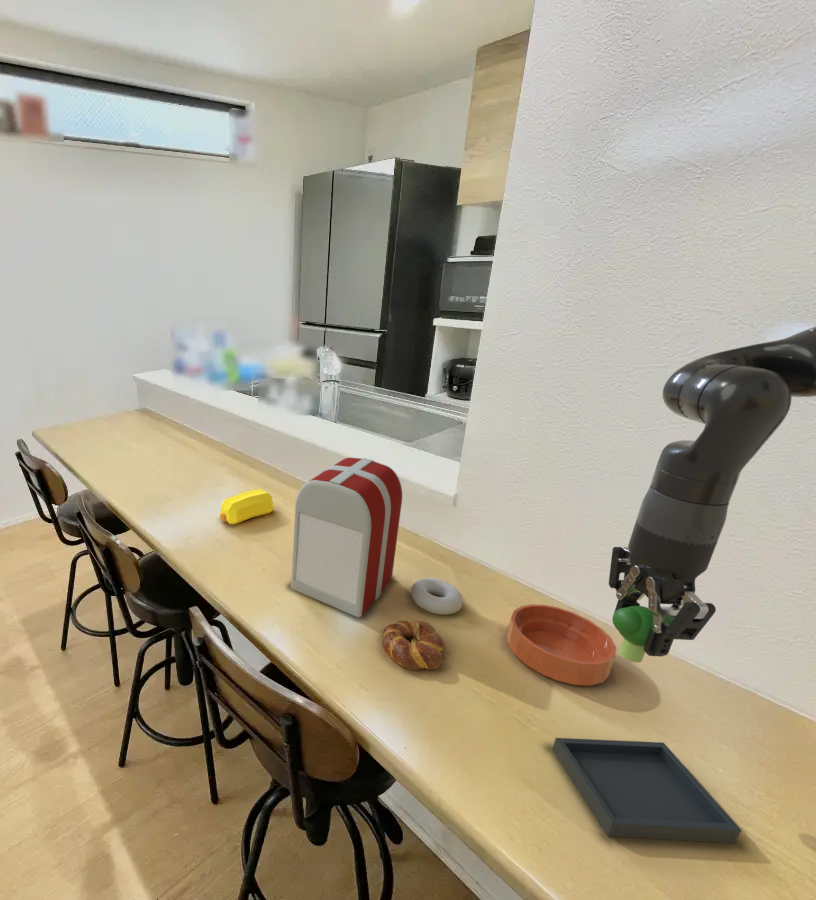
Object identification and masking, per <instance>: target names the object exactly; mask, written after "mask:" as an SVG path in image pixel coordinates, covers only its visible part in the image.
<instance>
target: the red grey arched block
mask: <svg viewBox="0 0 816 900" xmlns="http://www.w3.org/2000/svg"><path fill="white" fill-rule="evenodd" d="M402 503H403V488H402V483H401V480H400V477H399V476H398V475H397V473H396V471H395V470H394V469H393V468H392V467H390V466H388V465H386V464H384V463H381V462H378V461H375V460H373V459H372V458H371V459H370V458H366V457H363V458H361V457H352V456H351V457H346V458H343V459H341V460H340V461H338V462H337V463H335V464H334V465H331V466H328V467H327V468H325V469H323V470H322V471H321V472H320V473H318V475H316V476H315V477H313V478H312V479H309V480H308V481H306V482H305V483H304V484H303V485H302V486H301V488H300V489H299V491H298V493H297V496H296V499H295V506H294V521H293V522H294V523H293V524H294V525H293V541H292V544H293V545H292V562H291V580H290V581H291V585H290V589H292V590H293V591H296V592H298V593H300V594H303V595H305V596H307V597H310V598H312V599H314V600H317V601H319V602H322V603H324V604H326V605H328V606H331V607H333V608H335V609H337V610H340V611H342V612H345V613H346V614H349V615H351V616H354V617H356V618H361V617H363V615H364V614H365V613H366V612H367V611H368V609H370V607H371V606H372V605H373V603H375V601H377V600H378V598H379V597H380V596H381V594H382V592H383V591H385V589H386V587H387V586H388V585H389V584H390V582H391V581H392V580H393V572H394V567H395V558H396V550H397V542H398V535H399V528H400V527H399V526H400V520H401V512H402V506H403V505H402Z"/></svg>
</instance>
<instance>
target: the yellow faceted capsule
mask: <svg viewBox="0 0 816 900" xmlns="http://www.w3.org/2000/svg"><path fill="white" fill-rule="evenodd" d="M273 511H274V501H273V496H272V495H271V494H270V493H269V492H267V491H265V490H263V489H262V488H258V489H253V490H247V491H243V492H239V493H238V494H235V495H233V496H230V497H227V498H225V499H224V500H223V501H222V503H221V507H220V512H219V519H220V521H221V523H222V522H224V523H228V524H229V525H233V526H234V525H237V524H240V523H242V522H244V521H247V520H249V519H251V518H255V517H259V516H264V515H268V514H270V513H272V512H273Z"/></svg>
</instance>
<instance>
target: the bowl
mask: <svg viewBox="0 0 816 900" xmlns="http://www.w3.org/2000/svg"><path fill="white" fill-rule="evenodd" d="M512 611H513V612H512V613H511V616H510V620H509V624H508V628H507V633H506V641H507V644H508V647H509V648H510V650H511V651H512V653H513V654H514V656H516V658H518V659H519V660H520V661H522V663H523V664H524V665H526V666H527V667H529V668H530V669H532V670H534V671H535V672H537V673H539V674H541V675H543V676H546V677H547V678H550V679H552V680H555V681H557V682H561V683H565V684H570V685H573V686H589V687H590V686H595V685H598V684H602V683H603V682H605V681H606V679H608V678H609V676H610V674H611V671H612V668H613V665H614V662H615V660H616V654H617V646H616V645H615V644H616V643H614V640H613V639H612V637H611V636H610V635H609V634H608V633H607V632H606V631H605V630H604V629H603V628H602V627H600V626H599V625H597V624H596V623H594V622H593V621H592V620H590V619H588V618H586V617H584V616H582V615H579V614H578V613H576V612H574V611H570V610H567V609H564V608H561V607H558V606H553V605H547V604H537V603H535V604H534V603H532V604H526V605H521V606H519V607H517V608H516V609H514V610H512Z"/></svg>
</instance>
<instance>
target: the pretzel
mask: <svg viewBox="0 0 816 900" xmlns="http://www.w3.org/2000/svg"><path fill="white" fill-rule="evenodd" d="M381 638H382V641H381V647H382V649H383V650H384V652H385V654H387V656H388V657H389V658H390V659H392V660H393V661H394V662H395V663H396V664H397V665H399V666H401V667H403V668H406V669H408V670H415V671H416V670H420V669H421V670H422V669H426V670H428V671H429V670H430V671H431V670H432V671H433V670H436V669H438V668H440V667H441V666H442V664H443V654H442V653H441V651H444V650H445V641H444V638H443V636H441V635H440V634H439V633H438V632H437V631H436V629H435V628H434V626H432V624H431V623H429V622H427V621H423V620H414V621H409V620H399V621H397V622H395V623H391V624H387V625H386V626H385V627H384V628H383V630H382V635H381Z"/></svg>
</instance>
